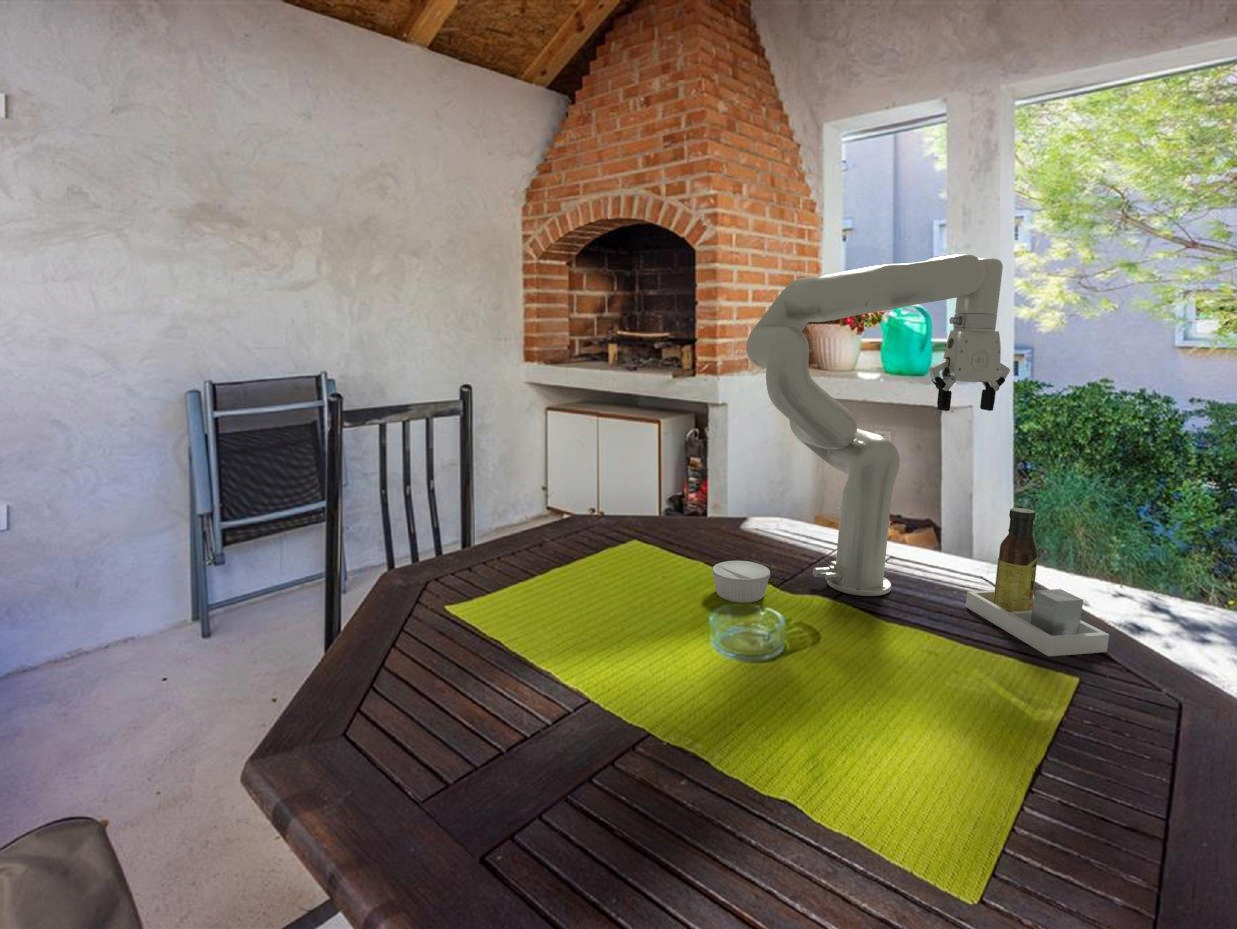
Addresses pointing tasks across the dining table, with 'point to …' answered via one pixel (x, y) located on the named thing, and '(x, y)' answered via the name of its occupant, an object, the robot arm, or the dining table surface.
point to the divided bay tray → (1033, 636)
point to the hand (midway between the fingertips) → (965, 410)
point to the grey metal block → (1056, 612)
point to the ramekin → (740, 580)
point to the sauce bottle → (1017, 564)
